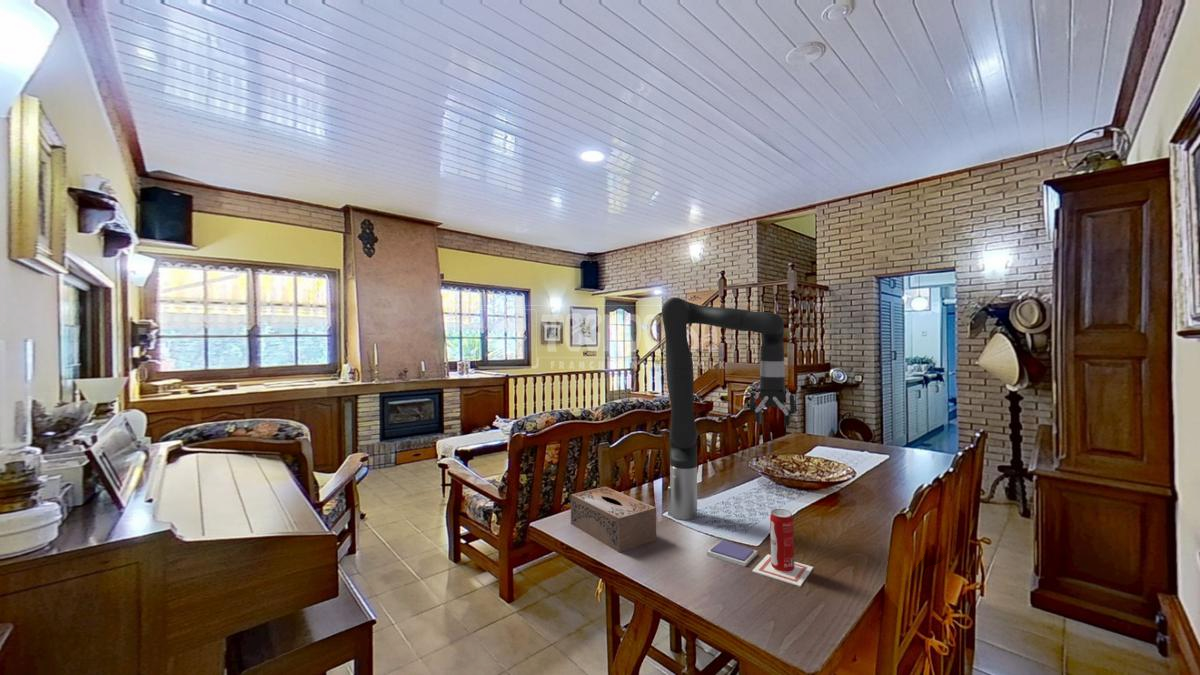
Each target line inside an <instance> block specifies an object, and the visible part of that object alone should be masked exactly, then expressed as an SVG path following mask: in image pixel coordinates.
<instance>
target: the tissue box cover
mask: <svg viewBox="0 0 1200 675" xmlns="http://www.w3.org/2000/svg"><path fill="white" fill-rule="evenodd" d="M570 524H571V525H572V526H574V527H575V528H577V529H579V530H580V531H582V532H584V533H586V534H587V535H589V536H590V537H592V538H594V539H595V540H597V541H599V543H602V544H604V545H605V546H607V547H609V548H611V549H612V550H613V551H615V552H617V553H622V552H625V551H627V550H631V549H633V548H636V547H639V546H643V545H645V544H648V543H650V542H654V541H657V507H655V506H652V505H650V504H648V503H646V502H644V501H641V500H639V499H636V498H634V497H632V496H630V495H627V494H624V493H622V492H620V491H618V490H615V489H613V488H610V487H608V486H602V487H598V488H597V487H596V488H593V489H588V490H584V491H579V492H575V493H572V494H570Z"/></svg>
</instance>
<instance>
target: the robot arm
mask: <svg viewBox="0 0 1200 675" xmlns="http://www.w3.org/2000/svg"><path fill="white" fill-rule="evenodd" d="M661 316H662V322H663V329H664V336H665V369H666V370H665V371H666V385H667V391H668V395H669V396H668V397H669V402H670V408H671V409H670V410H671V414H670V417H671V418H670V419H671V420H670V427H669V428H670V429H669V473H670V474H669V478H670V480H669V486H668V487H667V515H668V516H669V515H670V516H671V517H672V518H673V519H677V520H683V521H684V520H685V521H688V520H694V519H696V518H698V454H697V453H698V452H697V442H698V441H697V438H698V430H697V426H696V421H695V420H696V419H695V413H694V389H695V388H694V387H695V380H694V379H695V376H694V364H693V357H692V353H691V349H690V345H689V342H688V335H687V330H688V329H687V327H688V326H687V324H689V325H690V324H697V325H698V324H700V325H708V326H713V327H717V328H722V329H726V330H733V331H734V330H735V331H740V332H741V331H742V332H753V333H758V334H761V348H760V367H759V369H760V370H759V378H760V379H759V381H760V382H759V385H760V386H759V387H760V389H759V390H760V391H759V392H757V391H752V392H750V394H749V410H751V411H753V412H754V413H755V422H756V423H757V425H762V423H763V412H762V410H763V409H764V408H765V407H772V408H779V409H780V410H781V412H783V414H784V416H783V418H784V419H783V421H784V422H783V425H784V426H783V427H784V428H788V427H789V426H790V425H791V421H792V420H791V415H794V414H796V413H797V412H798V411H797V407H798V406H797V396H796V394H795V393H793V394H787V393H786V368H785V367H786V366H785V349H784V348H785V347H784V328H785V322H784V320H783V317H782V316H781V315H779V314H778V313H775V312H765V311H752V310H747V309H741V308H740V309H739V308H734V307H733V308H731V307H717V306H705V305H700V304H697V303H693V302H690V301H687V300H685V299H683V298H680V297H670V298H668V299H667V300H666V301H665V302H664V303H663V305H662V308H661ZM758 398H760V400H761V401H760V403H759V404H758V405H757V399H758ZM786 399H787V401H788V402H789V407H788V406H787V404H786V402H785V401H786ZM789 408H790V409H789Z"/></svg>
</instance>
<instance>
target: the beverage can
mask: <svg viewBox="0 0 1200 675" xmlns="http://www.w3.org/2000/svg"><path fill="white" fill-rule="evenodd" d="M769 521H770V523H769V524H770V527H769V528H770V555H771V565H772V567H773V568H774V569H775V570H777V571H779V572H784V573H788V572H792V571H793V570H794V562H795V532H794V531H795V526H794V524H795V521H794V516H793V513H792V512H791V511H790V510H787V509H784V508H775V509H772V510H771V513H770V516H769Z"/></svg>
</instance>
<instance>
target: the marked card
mask: <svg viewBox="0 0 1200 675" xmlns="http://www.w3.org/2000/svg"><path fill="white" fill-rule="evenodd" d="M813 569H814V566H812V565H811V566H810V565H808V564H804V563H800V562H797V561H794V570H793V571H792V572H788V573H784V572H779V571H777V570H775V569H774V568H773V567H772V565H771V554H769V553H767V554H766V555H765V556H764V557H763V558H762V559H761V561H759V563H758V564H757V565H756V566H755V567H754V568H753V569H752V570H751V572H752V573H755V574H757V575H761V576H763V577H768V578H770V579H774V580H777V581H781V582H784V583H787V584H790V585H793V586H795V587H800V588H801V587H802V585H803V584H804V582H805V581H806V579H807V578H808V577H809V575H810V574H811V572H812V571H813Z"/></svg>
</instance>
